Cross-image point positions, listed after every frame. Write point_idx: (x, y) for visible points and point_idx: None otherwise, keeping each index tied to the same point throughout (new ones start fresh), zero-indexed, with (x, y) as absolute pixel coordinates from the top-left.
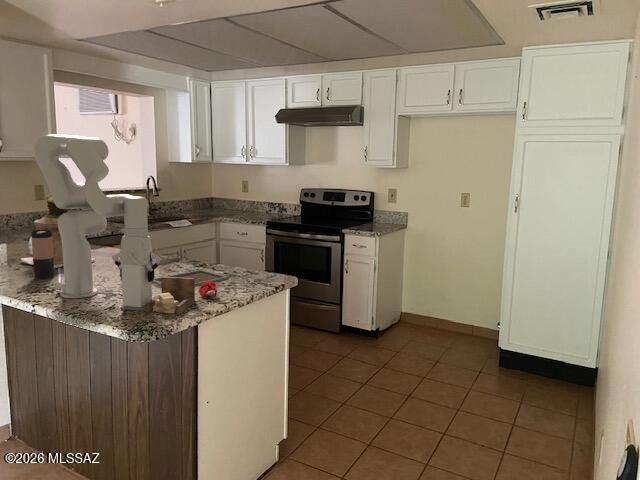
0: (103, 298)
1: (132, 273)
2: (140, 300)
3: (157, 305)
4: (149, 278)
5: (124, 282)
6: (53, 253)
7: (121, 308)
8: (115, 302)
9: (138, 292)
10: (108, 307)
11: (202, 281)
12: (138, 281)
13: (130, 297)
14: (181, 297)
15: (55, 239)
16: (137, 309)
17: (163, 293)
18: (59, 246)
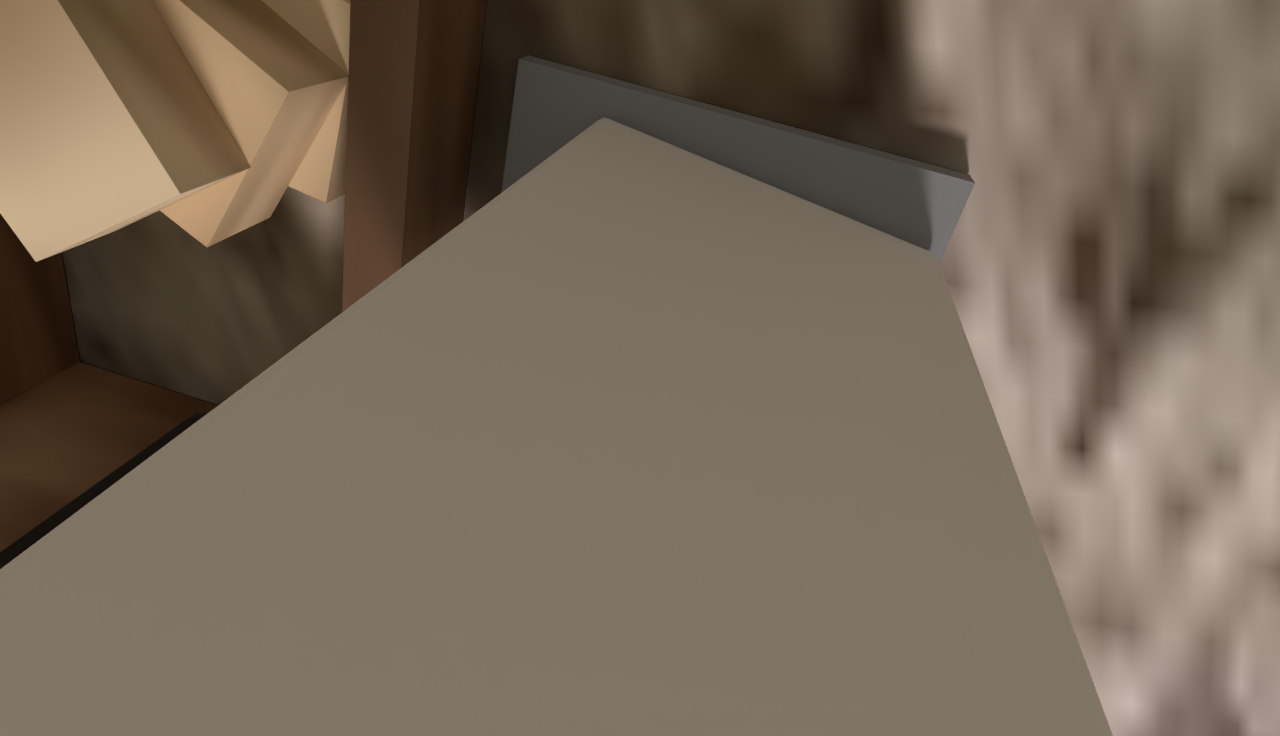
0: (1259, 723)
1: (557, 630)
2: (573, 142)
3: (286, 30)
4: (120, 466)
5: (952, 496)
6: None
7: (955, 173)
8: (1073, 531)
9: (562, 207)
10: (1194, 302)
11: None
12: (424, 321)
13: (784, 249)
14: (137, 428)
15: None
16: (667, 96)
17: (98, 207)
18: None
